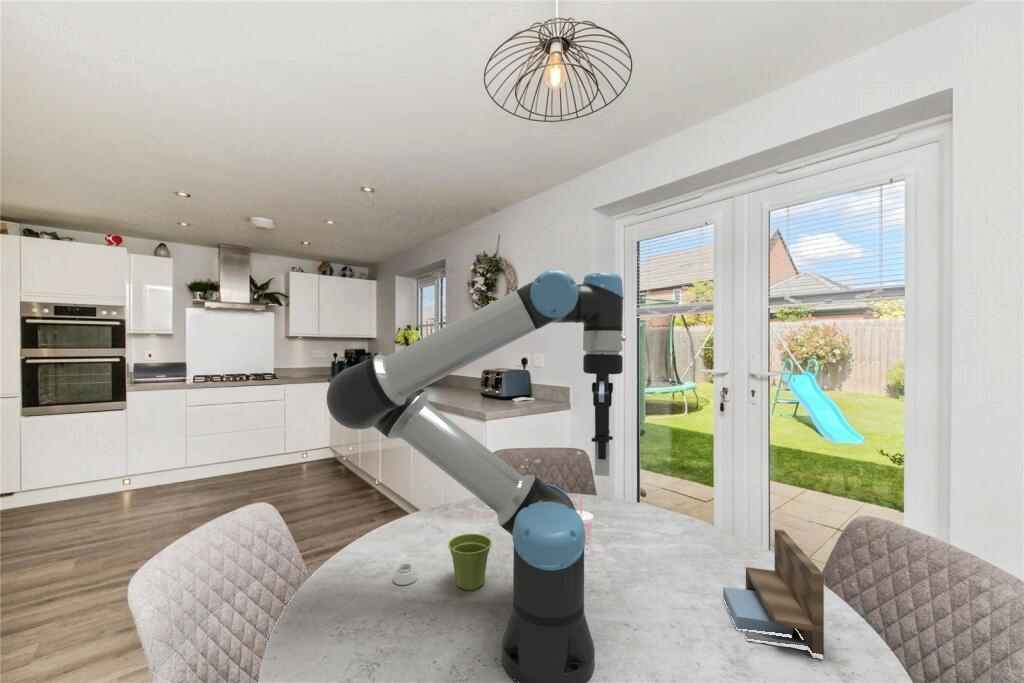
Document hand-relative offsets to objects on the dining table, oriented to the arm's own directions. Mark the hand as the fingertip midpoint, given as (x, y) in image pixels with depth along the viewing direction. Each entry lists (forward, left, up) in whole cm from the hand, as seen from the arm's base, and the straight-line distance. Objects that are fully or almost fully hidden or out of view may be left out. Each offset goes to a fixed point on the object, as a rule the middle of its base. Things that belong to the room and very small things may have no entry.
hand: (602, 474), depth 84 cm
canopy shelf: (+5, -31, -26) cm, 41 cm away
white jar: (+1, +42, -27) cm, 50 cm away
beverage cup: (+24, +6, -27) cm, 36 cm away
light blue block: (+6, -28, -27) cm, 40 cm away
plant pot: (+3, +28, -27) cm, 39 cm away
